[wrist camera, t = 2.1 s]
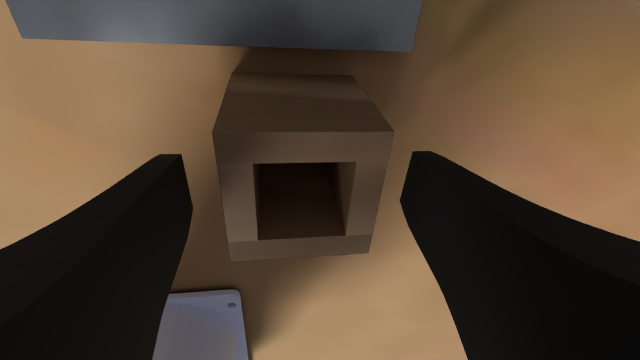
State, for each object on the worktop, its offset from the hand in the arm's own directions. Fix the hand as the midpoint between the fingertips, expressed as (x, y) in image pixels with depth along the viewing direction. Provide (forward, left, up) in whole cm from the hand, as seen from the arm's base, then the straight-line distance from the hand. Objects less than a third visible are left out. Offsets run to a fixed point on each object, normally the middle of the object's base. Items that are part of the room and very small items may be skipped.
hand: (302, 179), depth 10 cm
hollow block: (0, 0, -4) cm, 4 cm away
